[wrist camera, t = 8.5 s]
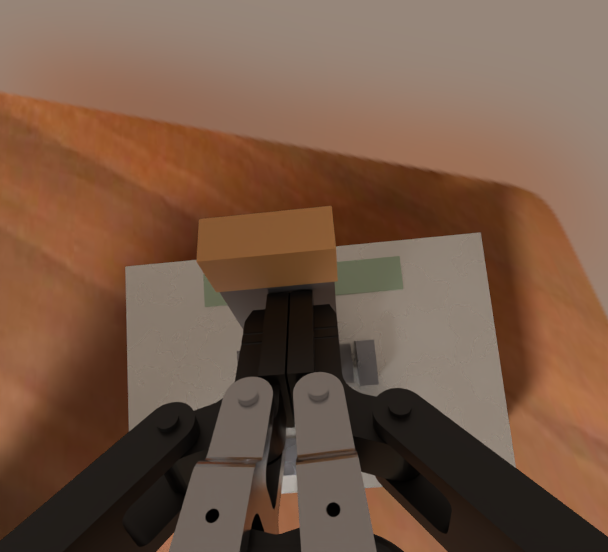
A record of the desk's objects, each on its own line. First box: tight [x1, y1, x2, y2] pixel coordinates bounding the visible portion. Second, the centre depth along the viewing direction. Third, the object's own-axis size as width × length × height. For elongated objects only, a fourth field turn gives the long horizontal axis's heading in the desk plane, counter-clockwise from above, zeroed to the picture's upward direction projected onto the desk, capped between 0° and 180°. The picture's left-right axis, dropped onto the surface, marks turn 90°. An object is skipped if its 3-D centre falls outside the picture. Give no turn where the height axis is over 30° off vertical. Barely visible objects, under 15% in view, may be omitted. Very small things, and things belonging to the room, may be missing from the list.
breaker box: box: [125, 232, 516, 493], centre depth 28 cm, size 22×14×8 cm, turn 95°
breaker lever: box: [196, 206, 354, 384], centre depth 19 cm, size 5×2×15 cm, turn 95°
